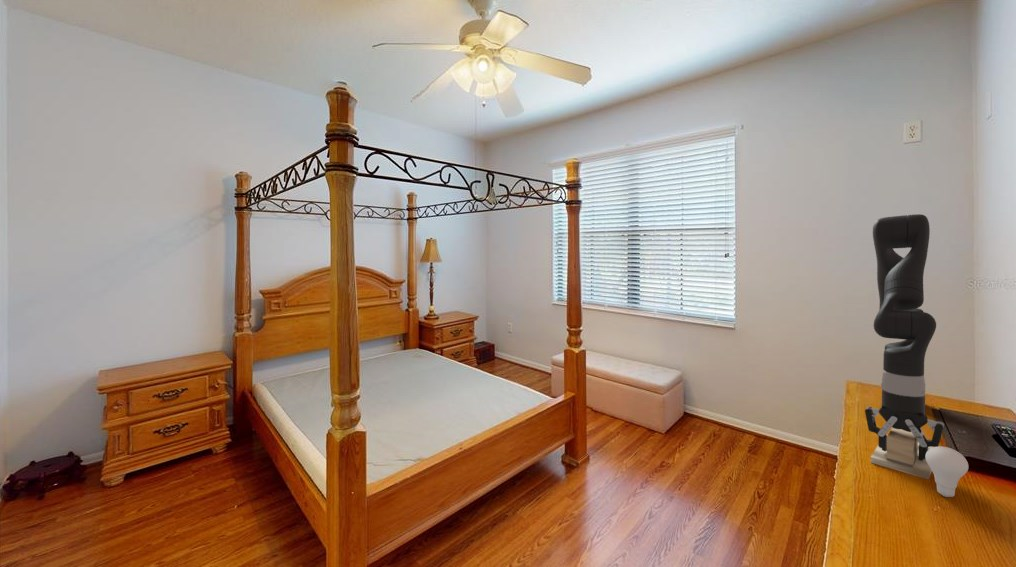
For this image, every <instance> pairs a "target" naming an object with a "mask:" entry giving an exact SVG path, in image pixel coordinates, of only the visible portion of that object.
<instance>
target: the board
mask: <svg viewBox="0 0 1016 567" xmlns="http://www.w3.org/2000/svg"><path fill="white" fill-rule="evenodd" d="M886 435H887V436H888V434H886ZM930 448H933V447H928V450H929V449H930ZM918 455H919V442H918ZM870 463H872V464H874V465H878V466H881V467H885V468H887V469H891V470H896V471H898V472H901V473H902V472H903V473H905V474H908V475H912V476H914V477H919V478H922V479H926V480H930V477H931V475H932V473H933V471H932V469H931V468H930V467H929V465H928V463H927V462H926V460H925V459H923V461H920V460H918V456H917V458H916V461H915V463H914V466H913V467H910V466H906V465H903V464H899V463H896V462H892V461H888V460H887V450H886V451H883V450H882V448H880V447H879V445H878V444H877V446H876V448H875V449H874V451H873V452H872V454H871V455H870Z"/></svg>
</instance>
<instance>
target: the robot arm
mask: <svg viewBox="0 0 1016 567" xmlns="http://www.w3.org/2000/svg"><path fill="white" fill-rule="evenodd" d="M930 230H931V229H930V222H929V218H928V217H927V216H926V215H925V214H904V215H896V216H895V215H894V216H886V217H881V218H877V219H876V220H875V221H874V222H873V226H872V239H873V245H874V250H875V257H876V264H877V266H876V269H877V270H876V271H877V272H876V276H877V278H876V280H877V289H878V296H879V308H878V309H879V310H878V312H877V314H876V316H875V318H874V321H873V329H874V332H875V333H876V334H877V335H878V336H879V337H882V338H884V339H893V340H894V339H895V340H902V341H896V342H895V341H894V342H891V343H890V342H889V343H887V344H885V345H884V351H883V357H882V358H883V362H882V363H883V368H882V369H883V370H882V371H883V372H882V376H881V384H880V385H881V407H880V408H874V407H872V406H867V407H866V408H865V409H864V413H865V419H866V422H867V428H868V431H869V432H870V433H875V434H876V435H877V437H878V438H877V439H878V441H877V442H878V444H877V446H878V445H879V447H880V448H882V450H883V451H886V450H887V435H888V434H887V433H888V432H890V430H891V429H892V428H895V429H902V430H905V431H908V432H912V433H913V435H914V437H915V438H916V439H917V441H918V443H919V455H918V460H920V461H923V459H925V460H926V458H925V455H926V452H927V451H928V447H937V446H939V445H940V442H941V438H942V435H943V431H944V428H945V423H944V422H943V421H942V420H941V421H940V420H939V421H936V420H934V419H933V420H932V419H929V418H928V416H926V381H925V358H926V353H927V349H928V348H929V347H928V346H929V344H930V342H931V341H932V339H933V336H934V334H935V331H936V329H937V321H936V319H935V318H934V317H933V315H931V314H930V313H928V312H926V311H924V310H923V309H922V308H921V307H922V305H923V304H924V300H925V297H924V293H925V292H924V274H925V273H924V272H925V268H926V267H925V266H926V263H927V256H928V252H929V242H930V234H931V233H930V232H931V231H930ZM894 249H910V250H909V252H908V253H906V255H905V256H904V257H903V256H901V255H900V254H898V253H897V252H896V251H895V250H894ZM878 415H880V416H881V417H882V419H884V420H885V423H884V424H883V426H882V427H881V428H880V427H878V426H877V421H876V417H878ZM925 425H929V429H930V430H932V431H933V434H932V437H931V439H927V437H926V435H925V433H924V431H923V429H922V427H924V426H925Z"/></svg>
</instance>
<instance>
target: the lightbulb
mask: <svg viewBox="0 0 1016 567" xmlns="http://www.w3.org/2000/svg"><path fill="white" fill-rule="evenodd" d="M925 458H926V462H927V463H928V465H929V467H930V468H931V469H932V473H933V475H934V481H935V483H936V491H937V493H939V494H940V495H942V496H943V497H945V498H953V497H955V492H956V488H957V487H958V483H959V480H960V479H961V478H962V477H963V476H965V475H966V474H967V473H968V470H969V463H968V461H967V459H966V457H965V456H964V455H963V454H962V453H960V452H959V451H957V450H955V449H954V448H950V447H947V446H943V445H941V446H939V445H938V446H937V447H933V448H930V449H929V450H928V451H927V452H926V455H925Z"/></svg>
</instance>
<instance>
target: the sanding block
mask: <svg viewBox="0 0 1016 567" xmlns="http://www.w3.org/2000/svg"><path fill="white" fill-rule="evenodd" d="M887 435H888V436H887V460H888V461H892V462H896V463H899V464H903V465H906V466H910V467H913V466H914V463H915V461H916V458H917V456H918V443H919V442H918V441H917V439H916V438H915V437H914V435H913V433H912V432H908V431H905V430H902V429H895V428H893V427H891V428H890V430H889V433H888V434H887Z"/></svg>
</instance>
